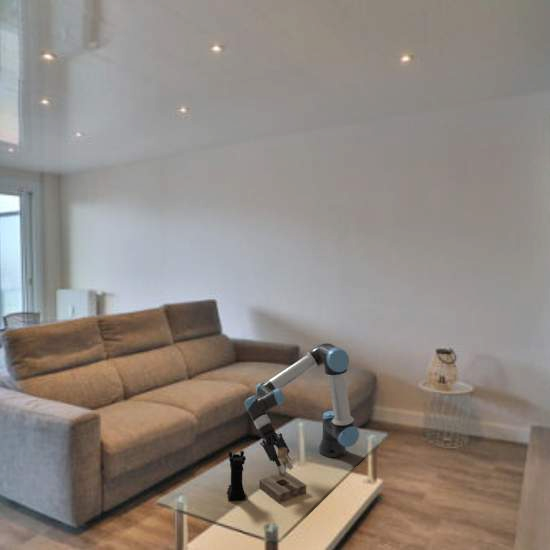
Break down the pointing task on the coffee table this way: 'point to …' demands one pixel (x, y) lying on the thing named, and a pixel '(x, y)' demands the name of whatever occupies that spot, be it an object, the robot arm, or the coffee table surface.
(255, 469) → the coffee table surface
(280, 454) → the oak peg
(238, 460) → the chess piece
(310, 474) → the coffee table surface
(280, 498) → the walnut board
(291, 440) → the coffee table surface
